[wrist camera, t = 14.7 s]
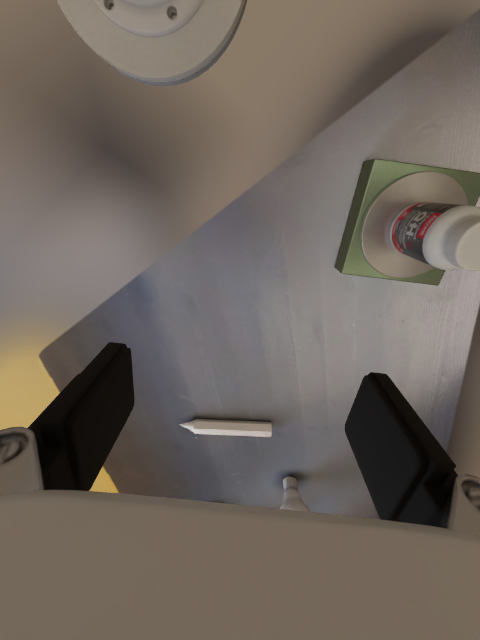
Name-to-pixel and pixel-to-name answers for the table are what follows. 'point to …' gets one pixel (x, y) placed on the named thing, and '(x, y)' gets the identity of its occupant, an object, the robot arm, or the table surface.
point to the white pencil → (229, 427)
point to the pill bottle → (439, 235)
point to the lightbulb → (292, 496)
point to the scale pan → (389, 206)
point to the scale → (369, 185)
